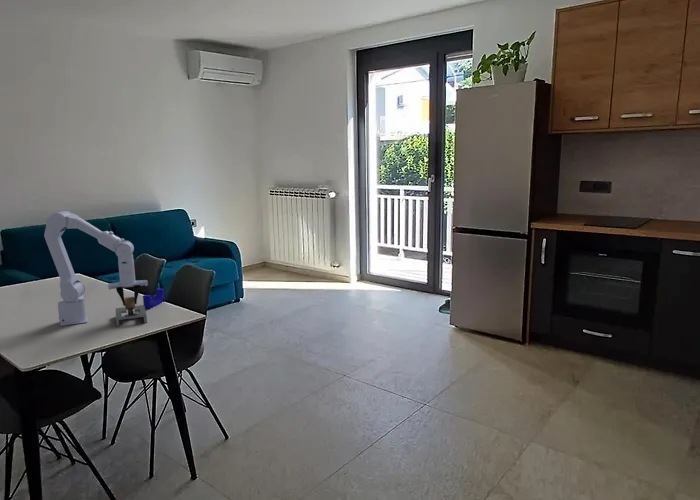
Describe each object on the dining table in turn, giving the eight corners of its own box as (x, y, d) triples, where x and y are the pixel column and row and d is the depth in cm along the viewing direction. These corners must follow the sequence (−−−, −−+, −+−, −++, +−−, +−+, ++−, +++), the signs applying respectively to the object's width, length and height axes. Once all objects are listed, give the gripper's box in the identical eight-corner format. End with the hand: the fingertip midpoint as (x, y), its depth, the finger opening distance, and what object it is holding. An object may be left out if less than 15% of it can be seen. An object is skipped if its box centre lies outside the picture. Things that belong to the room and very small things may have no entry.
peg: (124, 320, 203) (122, 300, 201) (124, 316, 207) (122, 297, 206) (138, 318, 205) (136, 299, 203) (137, 315, 209) (135, 296, 208)
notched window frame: (116, 326, 196) (115, 318, 195) (116, 316, 209) (115, 308, 208) (147, 322, 201) (146, 314, 200) (144, 312, 213) (144, 304, 212)
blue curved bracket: (155, 301, 230) (154, 288, 229) (165, 301, 229) (164, 288, 228) (140, 309, 219) (139, 295, 218) (150, 309, 218) (149, 296, 217)
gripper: (106, 275, 196) (110, 309, 199) (147, 272, 202) (149, 304, 205) (106, 271, 202) (110, 304, 205) (145, 268, 208) (148, 300, 211)
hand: (129, 304), depth 205 cm, fingers closed on peg, 4 cm apart
